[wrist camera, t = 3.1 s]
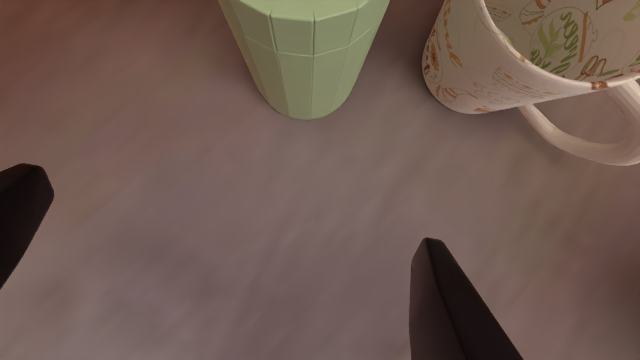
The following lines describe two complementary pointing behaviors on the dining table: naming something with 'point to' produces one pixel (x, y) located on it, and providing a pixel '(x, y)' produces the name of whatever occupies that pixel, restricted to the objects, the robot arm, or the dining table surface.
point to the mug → (539, 62)
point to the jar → (304, 49)
